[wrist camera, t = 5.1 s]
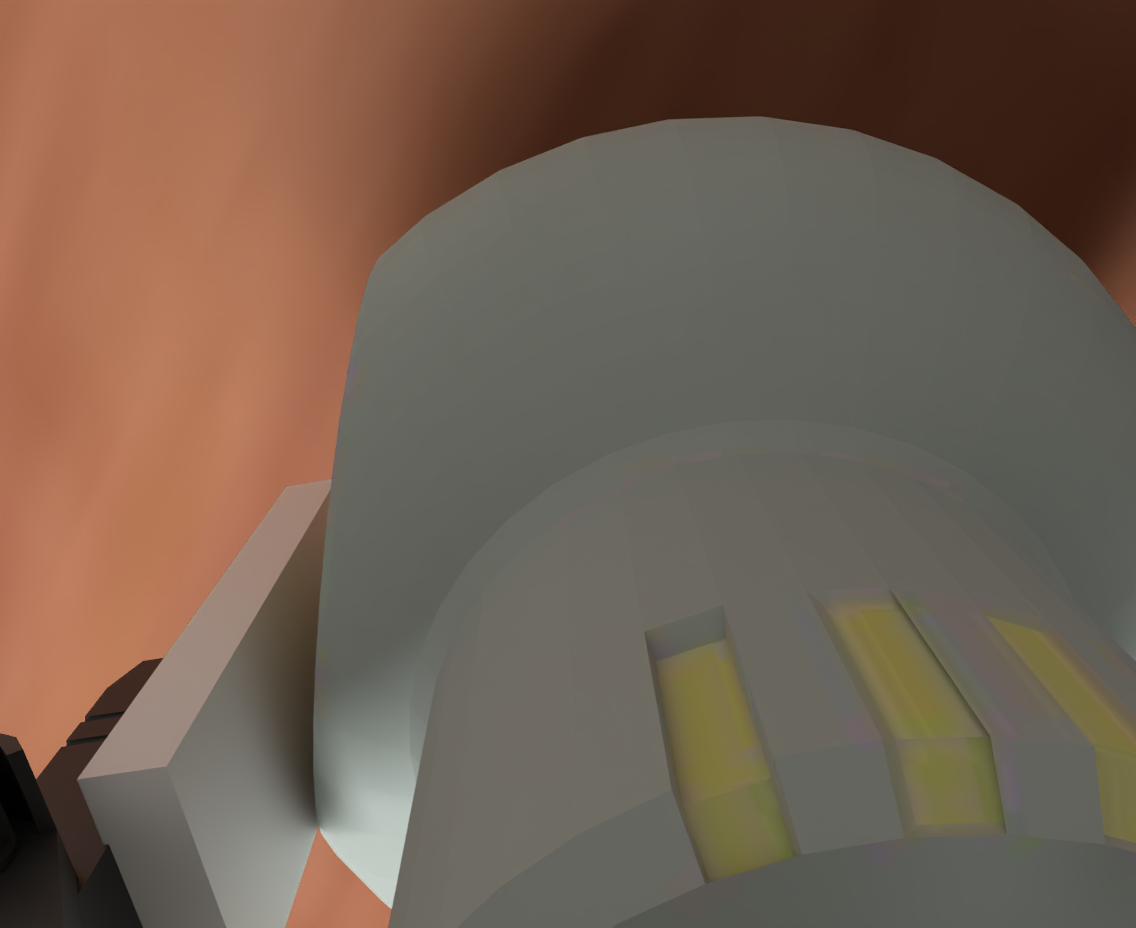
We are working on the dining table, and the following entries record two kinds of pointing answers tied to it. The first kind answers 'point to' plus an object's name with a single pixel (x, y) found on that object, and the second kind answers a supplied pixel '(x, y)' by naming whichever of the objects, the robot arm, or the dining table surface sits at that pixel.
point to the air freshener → (733, 550)
